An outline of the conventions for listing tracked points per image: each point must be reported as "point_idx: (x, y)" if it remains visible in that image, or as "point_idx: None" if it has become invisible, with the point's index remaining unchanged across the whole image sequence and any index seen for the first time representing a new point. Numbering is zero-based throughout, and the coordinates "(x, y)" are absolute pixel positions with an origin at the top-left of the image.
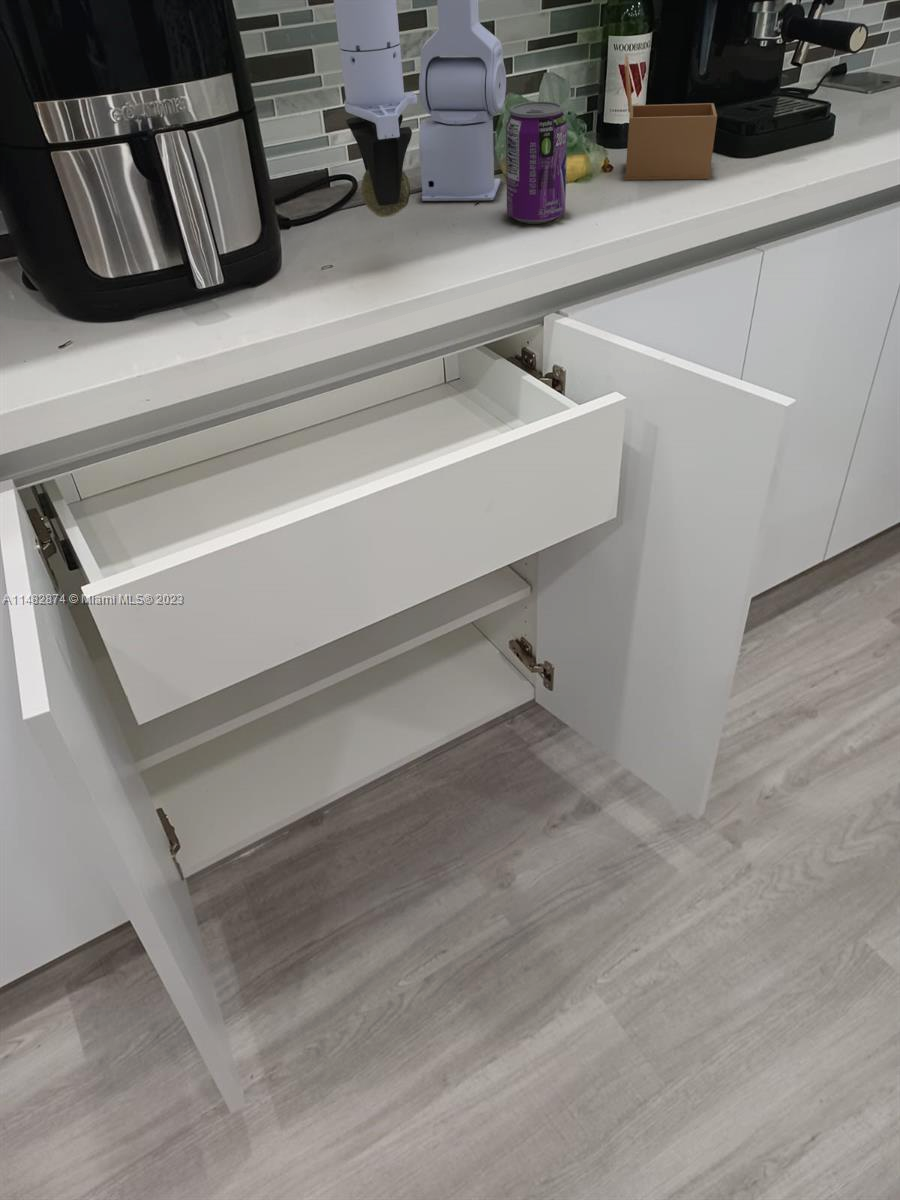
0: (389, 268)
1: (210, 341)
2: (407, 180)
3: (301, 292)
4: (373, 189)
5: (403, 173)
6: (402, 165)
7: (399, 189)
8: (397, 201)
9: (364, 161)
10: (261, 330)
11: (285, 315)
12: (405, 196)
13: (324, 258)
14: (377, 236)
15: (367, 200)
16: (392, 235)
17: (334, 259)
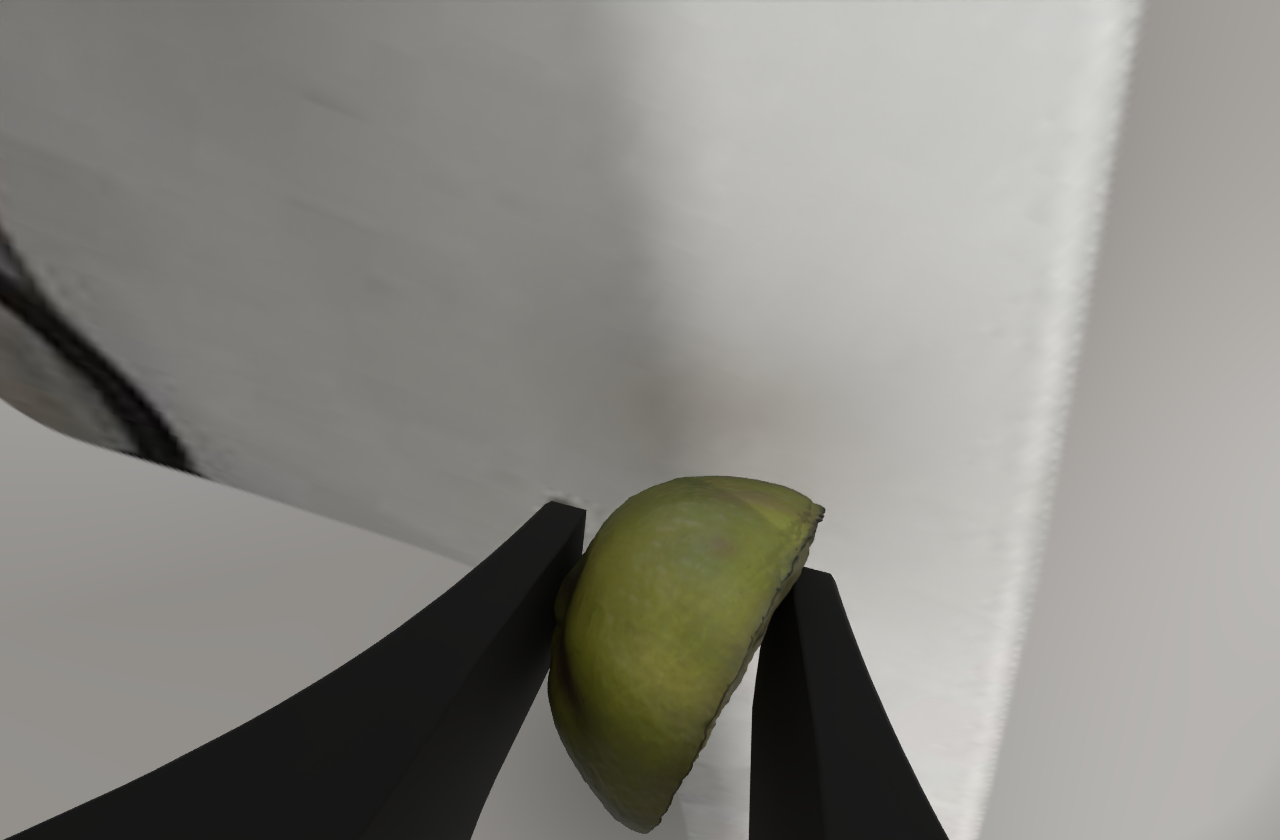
0: (676, 362)
1: None
2: (779, 584)
3: None
4: (753, 738)
5: (750, 640)
6: (946, 836)
7: (856, 644)
8: (838, 591)
9: (487, 793)
10: (912, 768)
11: None
12: (810, 541)
13: (483, 493)
14: (323, 273)
15: (728, 695)
16: (324, 215)
17: (503, 475)
